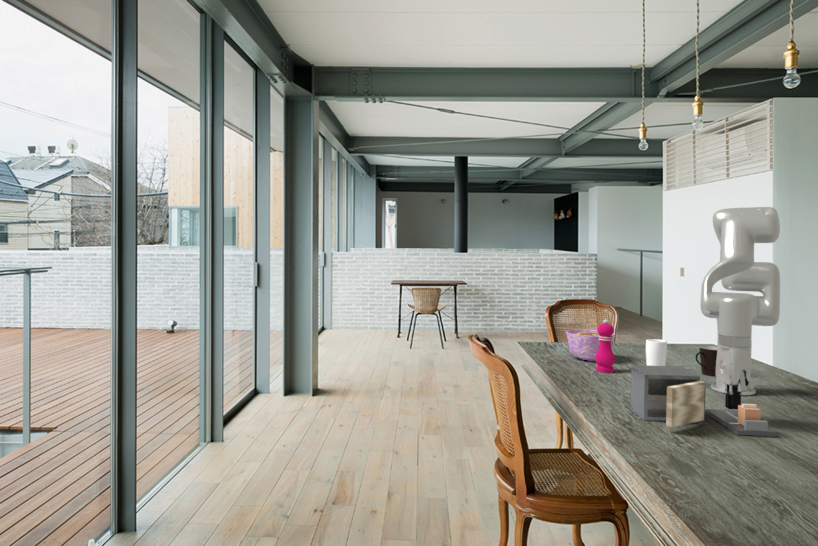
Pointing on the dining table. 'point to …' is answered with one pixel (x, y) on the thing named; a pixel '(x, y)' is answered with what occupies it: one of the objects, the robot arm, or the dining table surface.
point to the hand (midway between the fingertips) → (732, 408)
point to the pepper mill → (605, 348)
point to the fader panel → (750, 426)
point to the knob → (748, 413)
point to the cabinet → (655, 388)
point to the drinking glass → (656, 352)
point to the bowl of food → (585, 343)
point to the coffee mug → (707, 360)
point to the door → (686, 404)
